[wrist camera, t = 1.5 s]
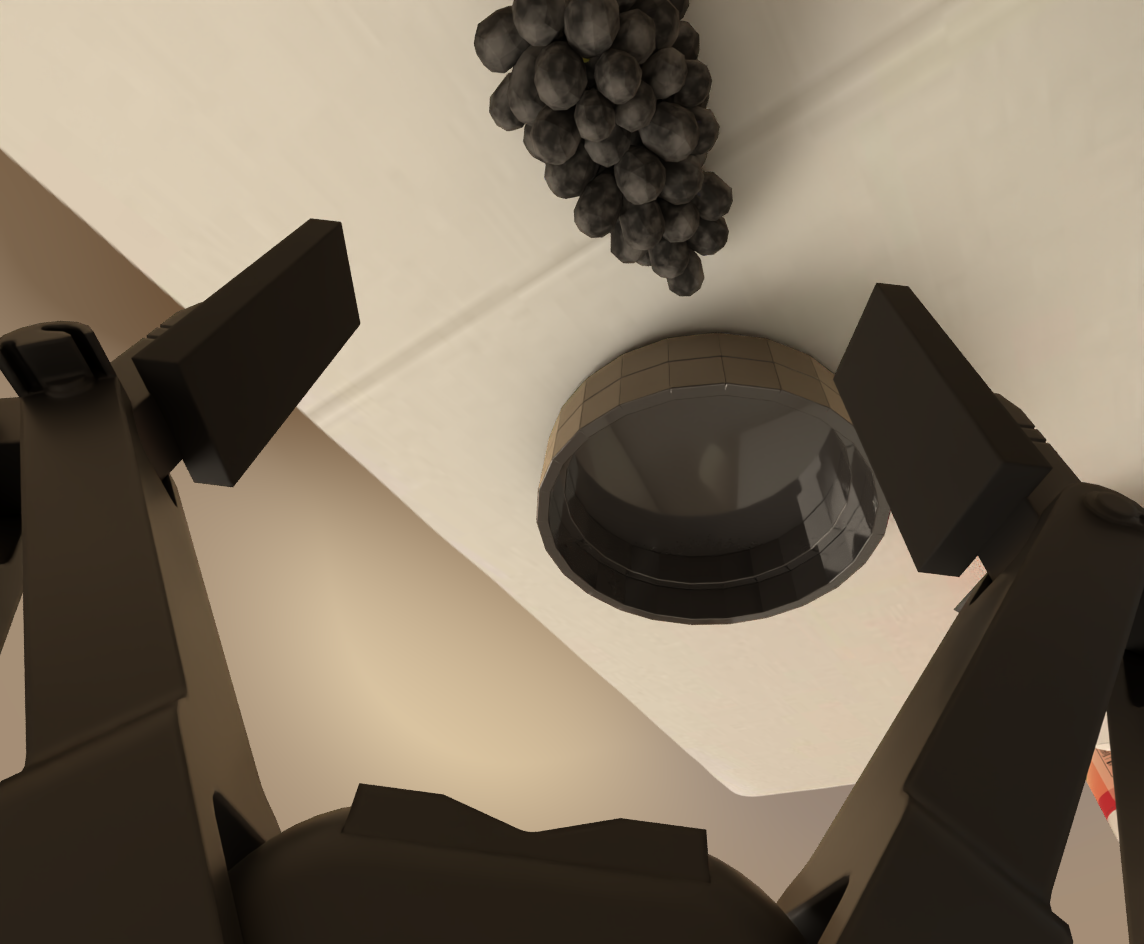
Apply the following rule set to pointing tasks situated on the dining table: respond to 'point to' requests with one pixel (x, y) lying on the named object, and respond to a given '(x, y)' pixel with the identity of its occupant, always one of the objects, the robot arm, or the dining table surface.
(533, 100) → the fruit
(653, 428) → the bowl
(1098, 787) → the fruit juice
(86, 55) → the dining table surface
